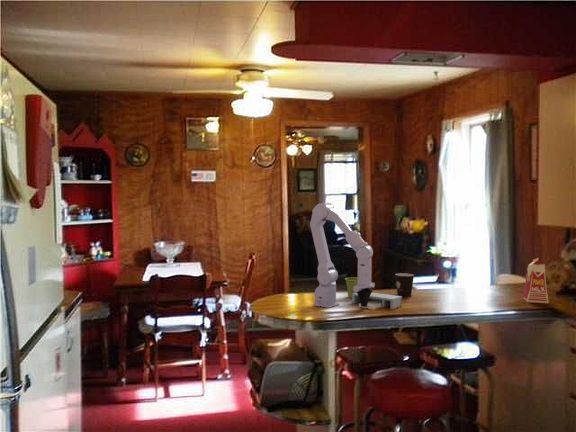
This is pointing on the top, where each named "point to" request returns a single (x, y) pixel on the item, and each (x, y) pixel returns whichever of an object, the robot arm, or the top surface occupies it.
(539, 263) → the milk carton
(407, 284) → the coffee mug
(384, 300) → the shelf
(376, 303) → the tile
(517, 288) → the top surface
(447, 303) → the top surface
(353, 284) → the plant pot
